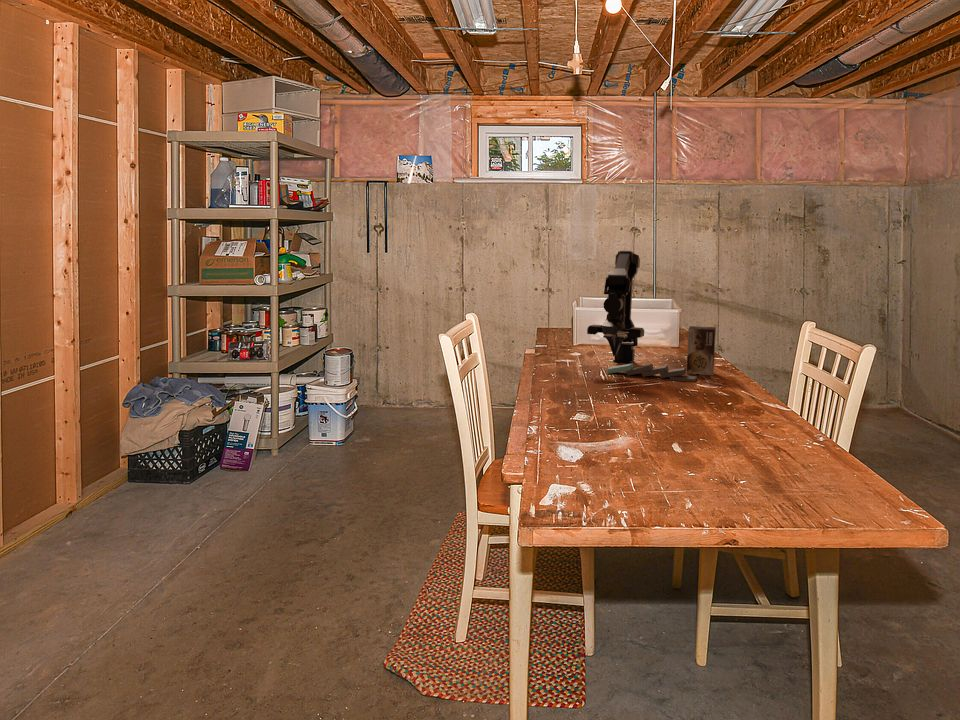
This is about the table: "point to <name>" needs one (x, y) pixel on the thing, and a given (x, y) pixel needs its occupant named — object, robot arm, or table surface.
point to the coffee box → (701, 350)
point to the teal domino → (620, 368)
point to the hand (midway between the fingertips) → (614, 355)
